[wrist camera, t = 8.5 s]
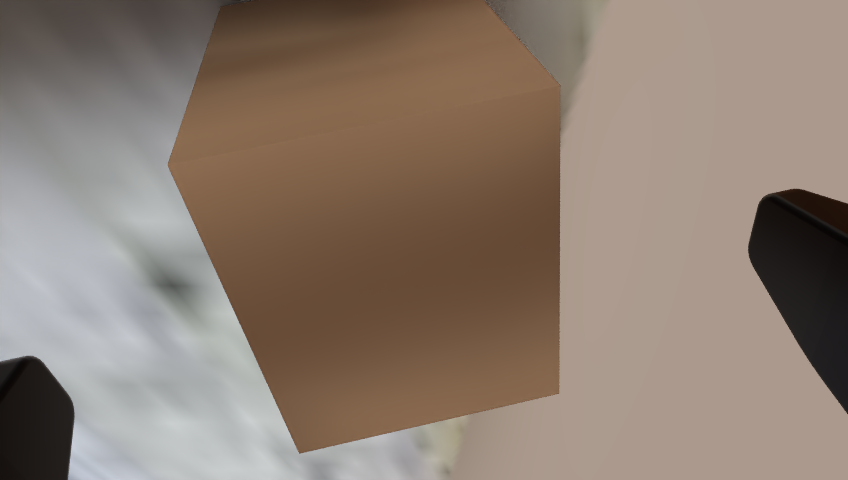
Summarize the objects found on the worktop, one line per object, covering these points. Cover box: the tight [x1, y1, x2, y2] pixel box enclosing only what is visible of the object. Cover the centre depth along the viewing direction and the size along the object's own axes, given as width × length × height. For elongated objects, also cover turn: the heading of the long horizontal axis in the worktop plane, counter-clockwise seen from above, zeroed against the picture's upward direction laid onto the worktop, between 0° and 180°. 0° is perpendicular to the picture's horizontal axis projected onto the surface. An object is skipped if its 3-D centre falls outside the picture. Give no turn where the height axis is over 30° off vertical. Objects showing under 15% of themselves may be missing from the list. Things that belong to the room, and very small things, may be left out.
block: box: [168, 0, 560, 454], centre depth 10 cm, size 5×4×6 cm
